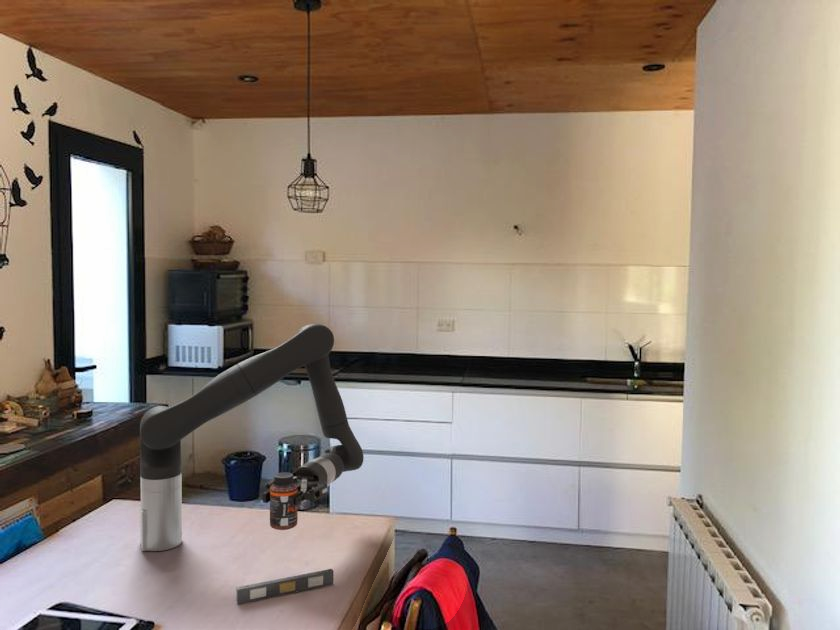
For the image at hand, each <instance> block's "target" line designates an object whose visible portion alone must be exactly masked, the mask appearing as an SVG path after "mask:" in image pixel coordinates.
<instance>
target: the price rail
mask: <svg viewBox="0 0 840 630" xmlns="http://www.w3.org/2000/svg"><path fill="white" fill-rule="evenodd" d="M334 578H335V576H334V569H333V568H329V569H328V568H327V569H323V570H319V571H313V572H308V573H304V574H298V575H292V576H288V577H283V578H278V579H277V578H276V579H273V580H272V579H271V580H268V581H262V582H257V583H252V584H246V585H241V586H237V587H236V604H237V605H241V604H247V603H251V602H252V603H253V602H257V601H262V600H268V599H273V598H276V597H281V596H286V595H290V594H291V595H292V594H295V593H299V592H306V591H311V590H314V589H319V588H320V589H321V588H323V587H329V586H334Z"/></svg>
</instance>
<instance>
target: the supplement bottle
mask: <svg viewBox="0 0 840 630" xmlns="http://www.w3.org/2000/svg"><path fill="white" fill-rule="evenodd" d="M273 478H274V481H275V483H274V484H272V485H271V487H270V501H269V526H270V528H271V529H274V530H277V531H278V530H279V531H286V530H290V529H294V528H295V527H296V526H297V525H298V517H299V516H298V513H299V510H298V507H299V506H298V505H299V504H298V505H296V506H294V507H291V506H290V497H291V496H292V495H294V494H295V493H297V492H298V487H297V485H296V484H295V483H294V482H293V472H292V473H291V472H287V471H286V472H278V473H275V475H274V476H273Z"/></svg>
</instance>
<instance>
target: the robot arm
mask: <svg viewBox="0 0 840 630" xmlns="http://www.w3.org/2000/svg"><path fill="white" fill-rule="evenodd" d="M334 344H335V336H334V333H333V332H332V330H331V329H330V328H329V327H327V325H324V324H321V323H310V324H307V325H304V326H302V327H301V328H299V330H298V331H297V333H296V334H295V335H294V336H292V337H290V339H288V340H286V341H285V342H283V343H281V344H280V345H278V346H276V347H275V348H272V349H269V350H266V351H265V352H262V353H258V354H255V355H254V356H251V357H249V358H247V359H244V360H242V361H240V362H238V363H237V364H234V365H233V366H231V367H229V368H228V369H226V370H224V371H222V372H221V373H219V374H217V376H214V378H212V379H211V380H210V381H209V382H207V383H205V385H204V386H203V387H201V389H199V390H198V391H196V392H195V393H194V394H192V395H191V396H189V397H188V398H186V399H184V400H182V401H180V402H178V403H176V404H174V405H172V406H170V407H169V406H164V405H158V406H154V407H152V408H150V409H149V410H147V411H146V412H145V413H144V414H143V416H142V417H141V418H140V419H141V420H140V423H139V450H140V451H139V462H140V463H139V471H140V473H139V474H140V475H139V476H140V504H139V521H140V522H139V523H140V525H139V526H140V527H139V528H140V530H139V531H140V532H139V534H140V535H139V536H140V546H141V552H146V551H147V552H163V551H168V550H171V549H175V548H176V547H178V546H180V545H181V544H182V542H183V518H182V517H183V511H182V510H183V509H182V508H183V507H182V506H183V504H182V503H183V502H182V499H183V497H182V495H183V494H182V493H183V491H182V482H183V480H182V478H183V477H182V476H183V475H182V449H181V448H182V445H181V444H182V443H181V442H182V441H181V440H183V439H184V438H186V437H187V436H188V435H190V434H191V433H193V432H194V431H196V430H197V429H199V427H201V426H203V425H204V424H207V422H210V421H211V420H214V419H216V418H218V417H221V416H222V415H224V414H225V413H227V412H229V411H231V410H233V409H235V408H237V407H238V406H241V405H242V404H244V403H246V402H248V401H250V400H251V399H253V398H255V397H257V396H258V395H260V394H261V393H263V392H264V391H267V389H268V390H269V388H270V387H272V386H273V385H275V384H277V383H278V382H279V381H281V380H282V379H283V378H285V377H286V376H288V375H289V374H291V373H292V372H294V371H296V370H298V369H301V368H302V367H304V368H305V370H306V371H305V372H306V373H307V376H308V380H309V383H310V386H311V390H312V393H313V398H314V399H313V400H314V403H315V407H316V411H317V415H318V419H319V424H320V427H321V431H322V434H323V436H324V437H325V438H326V439H334V440H337V441H339V443H340V444H337V445H332V446H329V447H326V448H325V449H324V450H323V451H322V453H321V454H320V456H318V457H316V458H313V459H311V460H309V461H307V462H305V463H304V464H302V465H300V466H299V467H297V468H296V469H295V470H294V471H293V472H292V474H293V482H294V483H295V484H296V485H297V487H298V492H297V493H295V494H294V495H292V496H291V497H290V506H291V507H294V506H296V505H299V504H301V503H305V502H307V501H309V503H315V502H316V501H318V500H320V499H322V498H324V497H326V496H327V495H328V487H329V486H330V485H331V484H332V483H334V481H336V480H337V479H339V478H340V477H341V475H343V473H344V472H346V473H347V472H350V471H357V470H359V469H360V468H361V467H362V466H363V463H364V451H363V449H362V446H361V445H360V443H359V441H358V440H357V438H356V436H355V435H354V432H353V431H352V428H351V427H350V424H349V420H348V415H347V412H346V408H345V405H344V402H343V399H342V396H341V393H340V391H339V389H338V386H337V384H336V382H335V381H336V380H335V378H334V376H333V372H332V369H331V364H330V358H329V354H330V353H331V351H332V350H333V347H334ZM274 483H275V481H274V477H273V478H271V479H270V480H268V481H267V482H266V483H265V484H264V491H263V492H262V494H261V497H262V502H263V504H264V503H265V504H267V503H270V487H271V485H272V484H274Z"/></svg>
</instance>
